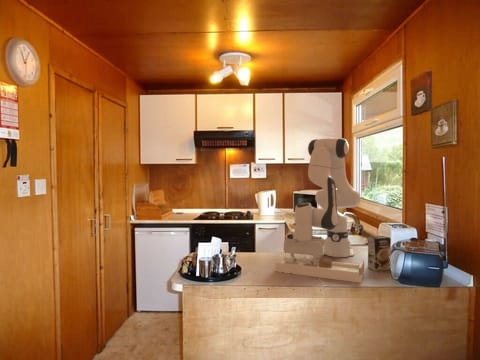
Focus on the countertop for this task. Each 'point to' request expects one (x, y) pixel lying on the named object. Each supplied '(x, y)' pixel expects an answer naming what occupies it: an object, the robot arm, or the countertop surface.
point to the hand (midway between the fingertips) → (303, 263)
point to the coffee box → (379, 252)
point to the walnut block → (325, 263)
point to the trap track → (322, 269)
